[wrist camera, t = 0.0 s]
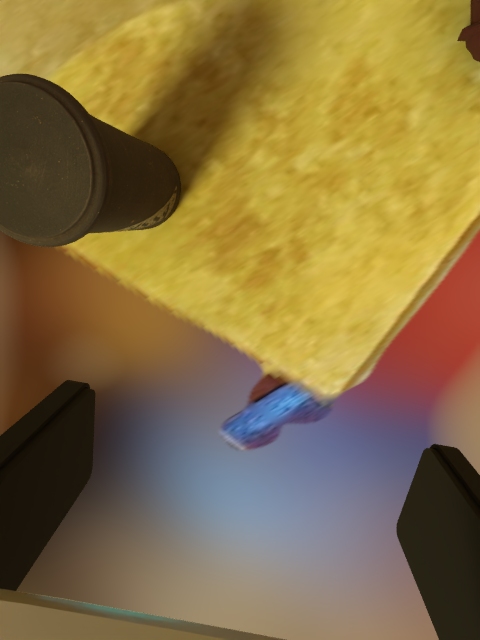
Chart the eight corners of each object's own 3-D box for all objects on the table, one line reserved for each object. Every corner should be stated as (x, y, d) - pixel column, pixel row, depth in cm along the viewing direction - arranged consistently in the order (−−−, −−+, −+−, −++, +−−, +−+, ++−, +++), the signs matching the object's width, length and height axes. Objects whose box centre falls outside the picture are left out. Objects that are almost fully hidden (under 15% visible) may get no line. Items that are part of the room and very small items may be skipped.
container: (98, 220, 39) (-59, 227, 20) (109, 132, 37) (-60, 45, 18) (174, 240, 39) (89, 266, 20) (191, 153, 37) (110, 90, 18)
